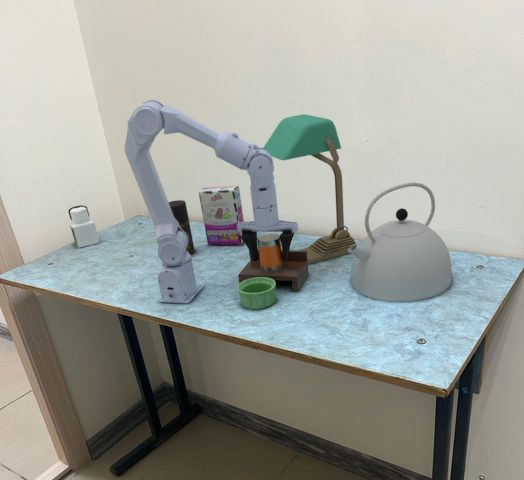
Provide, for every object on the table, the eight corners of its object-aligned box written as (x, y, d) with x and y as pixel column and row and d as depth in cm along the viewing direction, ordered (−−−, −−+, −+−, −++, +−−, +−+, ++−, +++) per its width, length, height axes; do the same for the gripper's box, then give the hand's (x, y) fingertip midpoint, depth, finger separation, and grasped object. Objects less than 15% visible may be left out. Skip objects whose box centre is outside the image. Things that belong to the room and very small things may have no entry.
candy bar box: (247, 239, 165) (239, 185, 156) (241, 245, 161) (234, 190, 152) (213, 239, 168) (204, 186, 160) (207, 245, 164) (197, 191, 156)
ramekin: (240, 313, 123) (237, 295, 121) (239, 296, 131) (236, 279, 129) (279, 307, 123) (277, 290, 121) (275, 291, 131) (273, 274, 129)
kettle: (376, 314, 116) (376, 210, 104) (326, 278, 134) (321, 186, 122) (472, 284, 122) (482, 183, 111) (412, 254, 141) (415, 165, 129)
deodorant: (196, 249, 163) (187, 199, 155) (192, 256, 158) (182, 205, 150) (177, 250, 164) (167, 201, 156) (173, 258, 158) (162, 207, 151)
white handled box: (75, 242, 182) (64, 207, 176) (96, 237, 184) (86, 202, 178) (78, 248, 176) (67, 212, 170) (100, 243, 178) (89, 207, 172)
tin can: (279, 273, 130) (275, 241, 126) (257, 272, 132) (253, 241, 128) (285, 264, 134) (282, 233, 130) (264, 263, 136) (261, 233, 132)
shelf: (298, 291, 129) (296, 266, 126) (240, 289, 134) (236, 265, 131) (308, 274, 137) (306, 250, 134) (253, 273, 142) (250, 249, 139)
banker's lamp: (365, 255, 144) (362, 113, 126) (293, 274, 138) (280, 129, 120) (336, 238, 157) (330, 108, 139) (270, 255, 151) (255, 121, 133)
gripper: (299, 199, 126) (303, 254, 133) (241, 200, 130) (248, 253, 137) (291, 208, 120) (296, 265, 127) (230, 209, 125) (238, 264, 132)
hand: (270, 260), depth 132 cm, fingers open, 7 cm apart
